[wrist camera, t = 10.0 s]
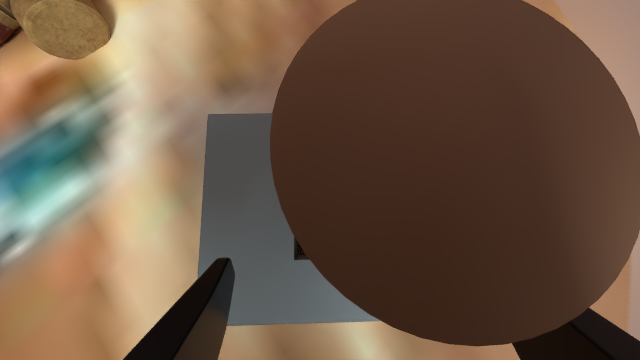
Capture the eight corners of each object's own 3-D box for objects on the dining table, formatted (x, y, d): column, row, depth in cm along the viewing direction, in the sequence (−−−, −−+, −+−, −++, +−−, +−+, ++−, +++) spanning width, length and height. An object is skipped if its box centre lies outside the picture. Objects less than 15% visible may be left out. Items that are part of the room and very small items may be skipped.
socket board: (461, 301, 16) (492, 317, 14) (216, 308, 16) (194, 326, 13) (440, 129, 19) (464, 110, 16) (225, 132, 18) (207, 114, 15)
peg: (377, 213, 17) (715, 143, 3) (336, 255, 17) (487, 452, 2) (336, 173, 18) (437, -73, 3) (296, 212, 17) (190, 134, 3)
